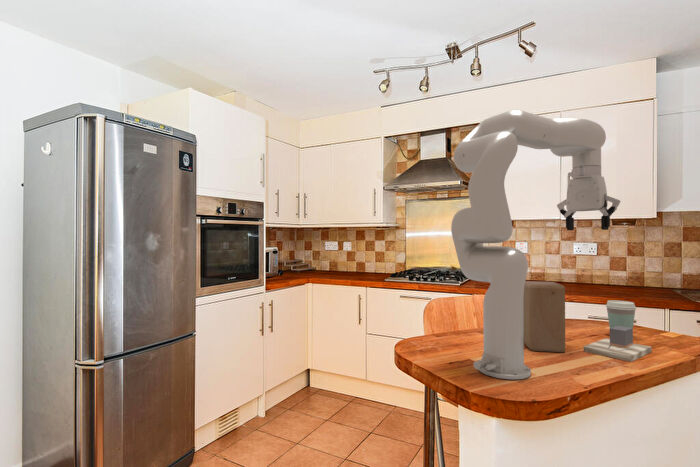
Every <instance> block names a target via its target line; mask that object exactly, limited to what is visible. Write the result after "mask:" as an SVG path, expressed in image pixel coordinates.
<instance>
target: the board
mask: <svg viewBox="0 0 700 467" xmlns="http://www.w3.org/2000/svg"><path fill="white" fill-rule="evenodd" d="M582 347H583V348H582V349H583V352H585V353H590V354H594V355H599V356H602V357H607V358H613V359H617V360H621V361H626V362H630V363H632V362H634V361H636V360H638V359H641V358H642V357H643V356H646V355H647V354H650V353H652V350H653V349H652V348H653V347H652V346H648V345H643V344H639V343H634V342H633V345H631V346H629V347H626V348H623V347H618V346H613V345H610V338H603V339H600V340H596V341H595V342H591V343H590V344H589V343H588V344H585V345H583V346H582Z"/></svg>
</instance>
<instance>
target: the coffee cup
mask: <svg viewBox="0 0 700 467" xmlns="http://www.w3.org/2000/svg"><path fill="white" fill-rule="evenodd" d="M606 302H607V303H606V304H605V307H606V311H607V312H606V313H607V318H608V326H609V329H610V328H612V327H615V326H623V327H629V328H633V329H634V325H635V324H634V323H635V316H636V315H635V314H636V310H637V307H636V305H635V302H633V301H626V300H613V299H612V300H607V301H606Z"/></svg>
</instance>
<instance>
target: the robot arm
mask: <svg viewBox="0 0 700 467" xmlns="http://www.w3.org/2000/svg"><path fill="white" fill-rule="evenodd" d="M606 135H607V134H606V131H605V129H604V128H603V127H602V125H601V124H599V123H598V122H595V121H592V120H590V119H586V118H576V117H575V118H572V117H571V118H570V117H569V118H567V117H566V118H563V117H562V118H561V117H559V118H558V117H552V118H550V117H545V116H540V115H539V114H536V113H533V112H528V111H525V110H522V109H512V110H507V111H505V112H502V113H499V114H496V115H493V116H490V117H488V118H485V119H484V120H482V121H480V123H479V124H477V125H476V126H475V127H474V128H473V129H472V130H471V131H469V133H468V134H467V135H466V136H465V137H464V138H463V139H462V140H461V141H460V142H459V143H458V144H457V146H456V147H455V150H454V151H453V161H454V162H453V163H454V165H455V167H456V168H457V169H458V170H459V171H461V172H463V173H466V174H467V173H468V174H469V173H470V174H471V176H470V178H469V180H468V181H469V182H468V186H467V187H468V188H467V190H468V191H467V192H468V194H467V195H468V196H469V203H470V207H465V208H462V209H460V210H458V211H456V212H455V214H454V215H453V217H452V220H451V236H452V242H453V245H454V248H455V253H456V257H457V260H458V264H459V268H460V270H461V272H462V274H463V275H464V276H465V277H466V278H467V279H469V280H471V281H475V282H482V283H489V284H490V285H489V287H488V288H487V290H486V292H485V294H484V297H483V301H482V302H483V305H482V306H483V308H482V310H483V312H482V313H483V353H482V354H481V359H480V360H477V361H476V360H475V361H474V362H473V367H474V368H475V370H478V371H479V372H480V373H481V374H484V375H486V376H490V377H493V378H496V379H502V380H514V381H515V380H524V379H527V378H529V377H530V376H531V375H532V369H531V368H530V367H529V366H528V365H526V364H525V343H524V287H525V281H527V275H528V270H529V261H528V259H527V256H526V255H525V253H524V252H523V251H521V250H520V249H518V248H515V247H511V246H506V245H505V246H503V245H502V246H501V245H500V246H495V245H491V246H490V245H488V246H487V245H484V244H500V243H504V242H507V241H508V240H509V239H511V236H513V222H512V221H513V220H512V217H511V214H510V213H511V212H510V208H509V203H508V199H507V195H506V189H505V179H506V175H507V173H508V170H509V168H510V167H511V164H512V163H513V161H514V159H515V157H516V156H517V153H518V147H519V146H521V147H522V146H523V147H526V148H531V149H534V150H550V152H551V153H552V154H553V155H554V156H556V157H572V159H571V163H572V165H571V166H572V169H571V171H570V172H568V173H567V177H570V179H569V181H568V186H567V191H566V199H564V200H563V201H561V202H559V203H558V204H557V205H556V207H557V209H558V211H559V213H560V214H561V215H563V217H564V218H565V229H566V230H567V231H574V229H575V218H574V217H573V216H574V215H575V213H577V212H591V211H593V212H594V211H599V212H600V213H601V214H602V216H601V217H600V219H601V220H600V222H601V223H600V224H601V226H600V229H601V230H603V231H607V230H609V228H610V227H611V216H613V214H614V213H615V212H616V211H617V209H618V207H619V205H620V203H621V200H620V199H618V198H615V197H612V196H609V195H608V193H607V192H608V191H607V185H606V181H605V178H604V176H602V147H603V146H604V145H605V142H606V139H607V136H606ZM609 202H610V203H612V205H611V206H610V207H609V208H608V204H609ZM565 207H566V209H565Z"/></svg>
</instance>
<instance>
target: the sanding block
mask: <svg viewBox="0 0 700 467" xmlns="http://www.w3.org/2000/svg"><path fill="white" fill-rule="evenodd" d="M633 331H634V327H633V328H629V327H623V326H615V327H612V328H610V327H609V339H610V345H613V346H618V347H623V348H626V347H629V346H631V345H633V343H634V332H633Z"/></svg>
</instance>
